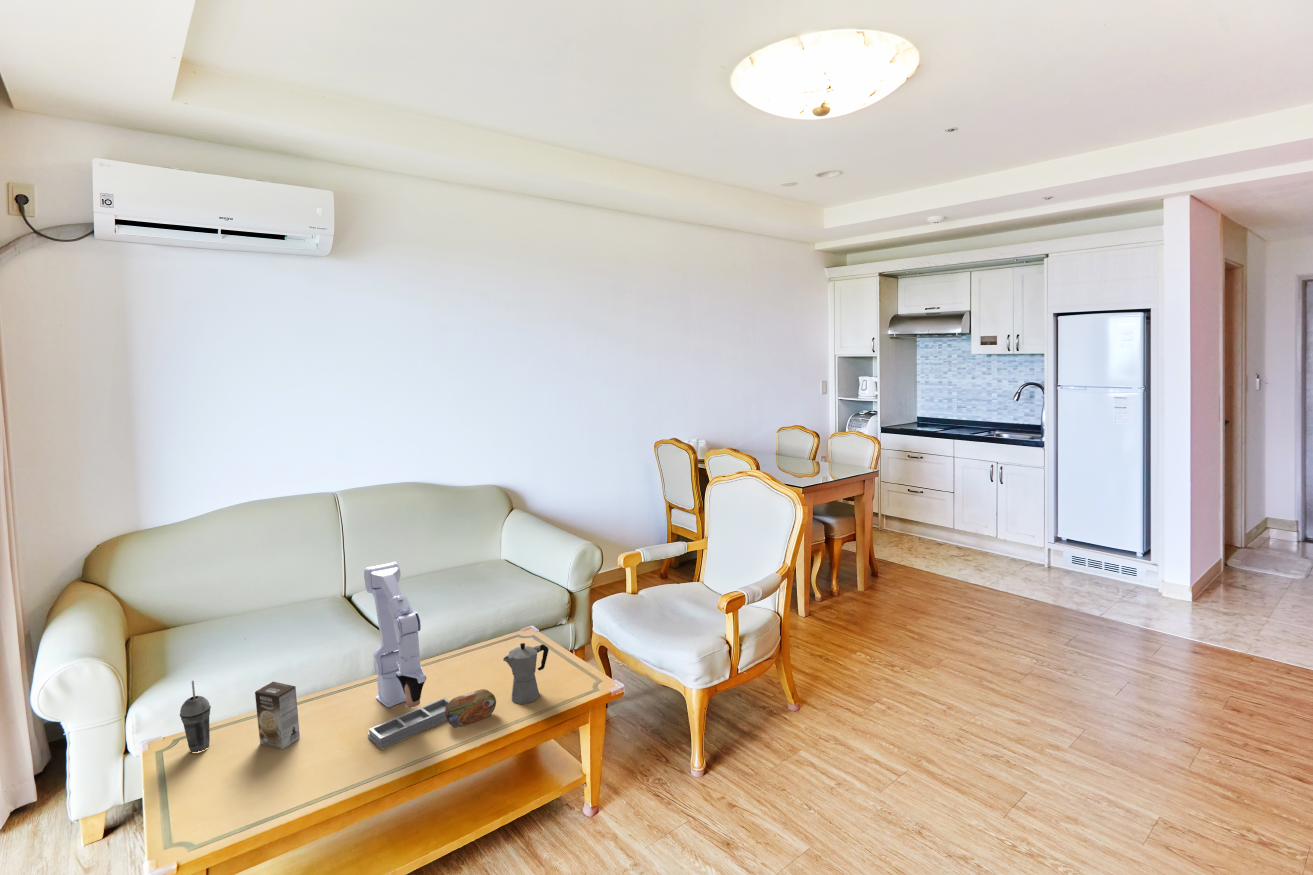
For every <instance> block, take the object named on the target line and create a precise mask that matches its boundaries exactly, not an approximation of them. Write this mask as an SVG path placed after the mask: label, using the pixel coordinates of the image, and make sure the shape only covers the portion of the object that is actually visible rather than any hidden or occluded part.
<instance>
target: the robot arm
mask: <svg viewBox="0 0 1313 875" xmlns="http://www.w3.org/2000/svg"><path fill="white" fill-rule="evenodd" d="M363 578H364V585H365V589H366V592H367V593H369V594H372V596H373V598H374V604H375V610H376V615H377V616H376V617H377V623H378V627H379V628H378V629H379V630H378V632H379V635H380V643H381V644H380V645H379V646H378V647H377V648H376V650H375V651H374V652H373V668H374V672H375V674H376V675H377V680H376V681H377V682H376V683H377V693H378V694H377V695H376V696H375V699H376V700H378V701H379V702H380V703H382V704H383V705H384V706H385V707H386V708H392V707H393V706H396V705H399V704H401V703H404V702H406V701H405V685H406V684H407V685H408V687H409V690H410V694H411V699H412V701H413V702H415V701H418V700H420V701H421V697H422V691H423V687H424V685H425V682H426V681H427V676H426V674H425V673H424V671H423V667H422V665H421V654H420V652H421V651H420V641H419V640H420V639H419V638H420V636H419V632H420V631H421V629H422V628H421V627H422V626H421V619H420V615H419V613H418V612H417V611H416V610H415V609H412V607H411V604H410V603H409V600H408V597H406V596H405V595H402V593H401V590H400V587H399V584H398V583H399V582H400V579H401V569H400V566H399V564H398V562H397V561H392V562H388V563H384V564H379V565H375V566H367V567H366V568H365V569H364V572H363Z"/></svg>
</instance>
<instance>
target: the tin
mask: <svg viewBox="0 0 1313 875" xmlns="http://www.w3.org/2000/svg"><path fill="white" fill-rule="evenodd" d="M496 698H497V697H495V695H494V694H493V693H492V692H491V691H490V690H488V689H484V688H483V689H478V690H475V691H471V692H469V693H468V692H467V693H465V694H462V695H458V696H456V697H454V698H452V699H451V700H449V701H450V702H449V703H448V704H447V706H446V709H445V717H446V719H447V723H448V724H449V725H450V726H451V727H455V728H459V727H463V726H464V727H465V726H466V725H469V724H472V723H475V722H478V721H481V720H484V719H486V718H488V717H490V716H491V714H493V712H494V711H495V708H496V705H497V699H496Z"/></svg>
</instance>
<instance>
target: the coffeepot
mask: <svg viewBox="0 0 1313 875" xmlns="http://www.w3.org/2000/svg"><path fill="white" fill-rule="evenodd" d="M519 645H520V646H518V647H515V648H514V649H511V650H510V651H509V652H508V654H507V655H505V656H504V658H503V662H505V663H507V665H508V666H509V667H510V669H511V672H512V676H513V681H512V688H511V701H512V702H513V703H515V704H518V705H526V704H527V705H528V704H530V703H533V702H535V701H537V700H538V699H539V698H540V692H539V688H538V682H537V678H536V670H538V671H542V670H544V669H545V666H546V662H547V660H548V659H547V658H548V654H549V651H550V650H549V647H547V645H545V644H540V645H535V646H529V645H527V646H526V643H525V642H521V643H519ZM542 651H543V653H542V658H541V662H540V664H541V665H540V667H537V659H538V658H537V657H538V653H540V652H542ZM536 668H537V669H536Z"/></svg>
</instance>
